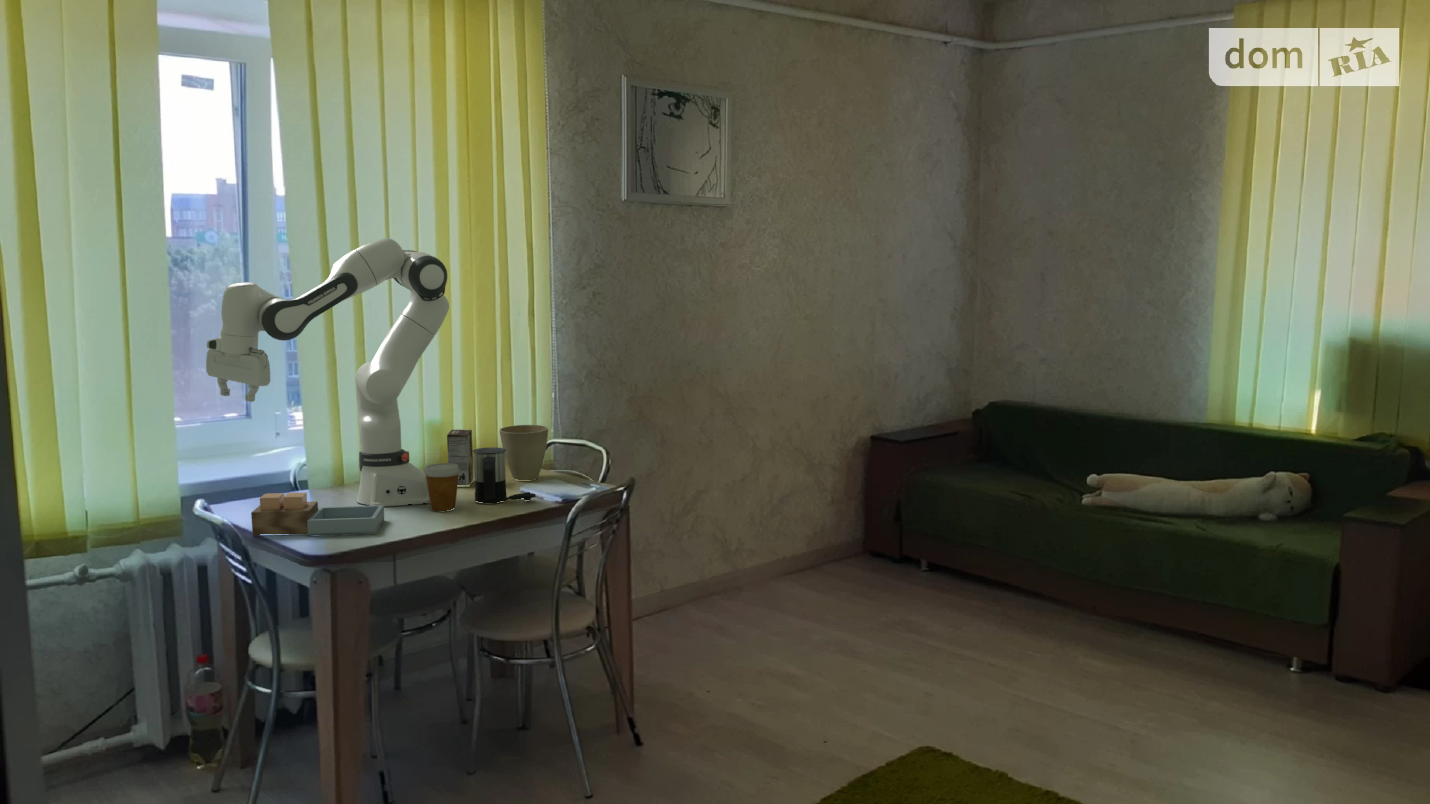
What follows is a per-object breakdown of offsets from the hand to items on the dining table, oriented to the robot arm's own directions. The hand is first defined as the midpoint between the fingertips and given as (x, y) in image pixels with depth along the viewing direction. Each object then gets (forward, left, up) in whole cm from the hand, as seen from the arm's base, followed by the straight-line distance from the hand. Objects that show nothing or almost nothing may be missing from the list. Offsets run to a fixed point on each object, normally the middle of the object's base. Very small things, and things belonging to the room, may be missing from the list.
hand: (237, 398), depth 275 cm
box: (-29, +14, -32) cm, 45 cm away
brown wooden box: (-14, +14, -32) cm, 38 cm away
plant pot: (-72, -39, -32) cm, 88 cm away
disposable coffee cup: (-51, -3, -32) cm, 60 cm away
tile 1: (-11, +14, -26) cm, 32 cm away
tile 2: (-16, +14, -26) cm, 34 cm away
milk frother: (-67, -10, -32) cm, 75 cm away
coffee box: (-53, -35, -32) cm, 71 cm away
